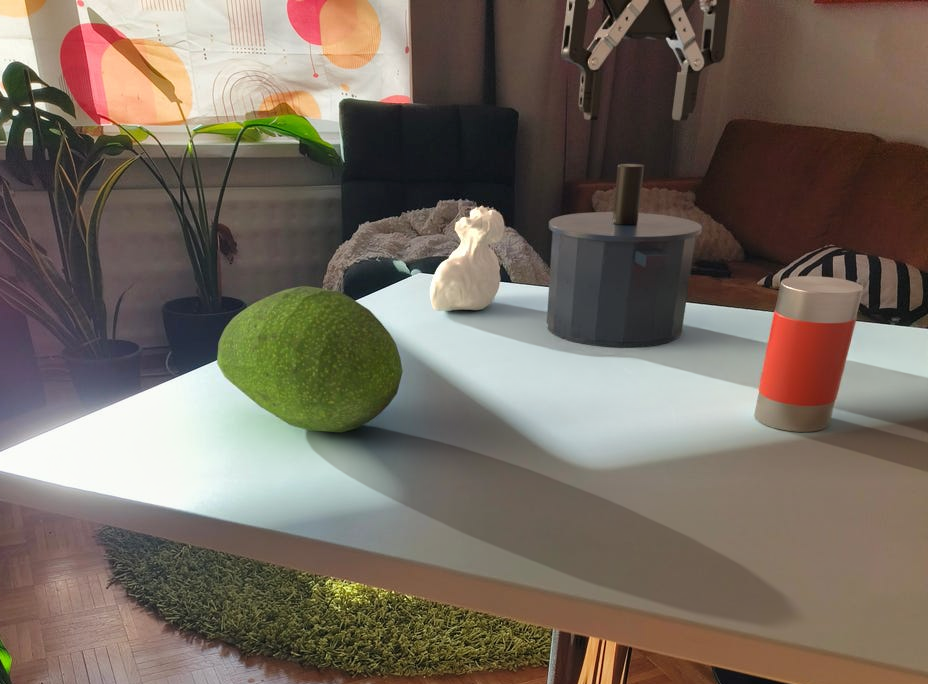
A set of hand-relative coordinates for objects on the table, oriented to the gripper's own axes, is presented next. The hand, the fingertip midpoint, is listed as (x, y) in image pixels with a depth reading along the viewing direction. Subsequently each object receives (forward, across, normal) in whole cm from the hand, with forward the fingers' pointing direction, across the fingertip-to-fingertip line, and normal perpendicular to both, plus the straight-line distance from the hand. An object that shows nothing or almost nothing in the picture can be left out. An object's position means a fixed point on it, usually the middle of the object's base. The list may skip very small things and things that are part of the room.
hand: (635, 119), depth 81 cm
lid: (+9, 0, 0) cm, 9 cm away
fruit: (+19, -32, -23) cm, 44 cm away
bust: (+19, -13, +11) cm, 25 cm away
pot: (+19, 0, 0) cm, 19 cm away
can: (+19, +5, -28) cm, 34 cm away
